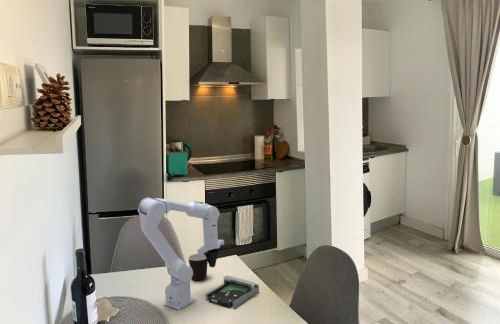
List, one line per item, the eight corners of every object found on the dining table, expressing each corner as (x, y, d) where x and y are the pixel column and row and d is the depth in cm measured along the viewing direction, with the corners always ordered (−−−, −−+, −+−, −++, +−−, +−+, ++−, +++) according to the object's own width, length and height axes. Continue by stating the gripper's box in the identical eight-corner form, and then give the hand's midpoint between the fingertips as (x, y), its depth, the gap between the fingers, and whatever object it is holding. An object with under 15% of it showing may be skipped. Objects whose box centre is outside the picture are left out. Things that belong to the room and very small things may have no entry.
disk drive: (229, 310, 154) (251, 294, 166) (229, 303, 154) (251, 288, 166) (208, 303, 160) (230, 288, 172) (207, 296, 159) (230, 282, 172)
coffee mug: (207, 282, 178) (206, 260, 177) (187, 282, 178) (186, 260, 177) (210, 272, 189) (209, 251, 188) (192, 272, 190) (191, 251, 188)
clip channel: (234, 308, 154) (234, 295, 153) (206, 299, 161) (205, 287, 161) (258, 292, 167) (258, 280, 166) (231, 284, 175) (231, 273, 174)
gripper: (206, 241, 158) (208, 274, 160) (229, 230, 170) (230, 262, 172) (192, 238, 162) (194, 271, 164) (216, 228, 174) (217, 259, 176)
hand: (212, 266), depth 168 cm, fingers closed
